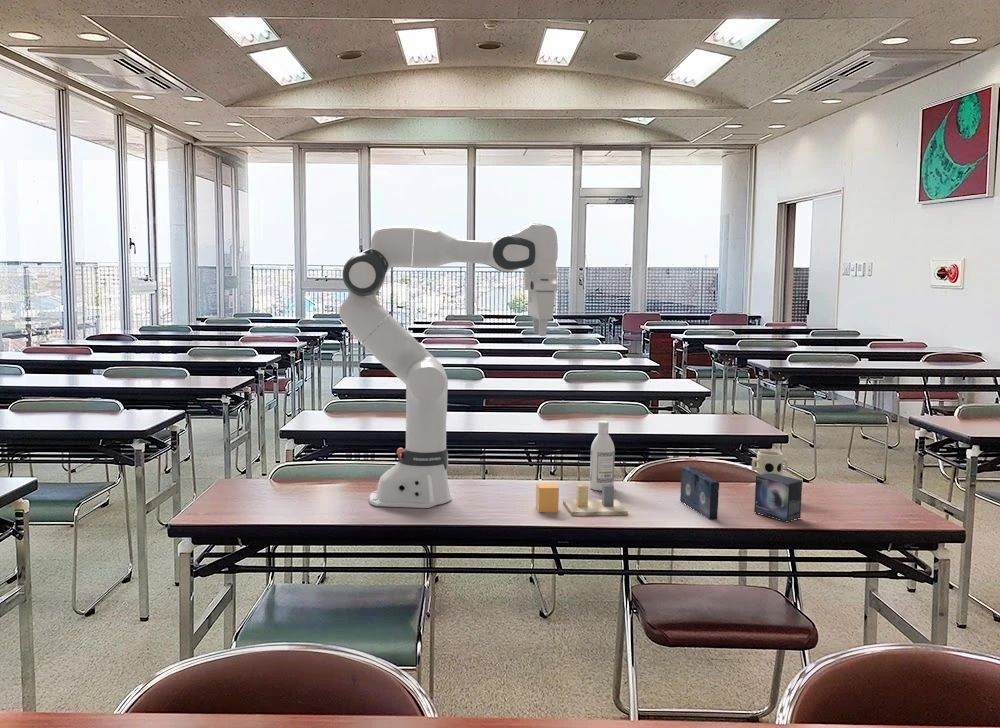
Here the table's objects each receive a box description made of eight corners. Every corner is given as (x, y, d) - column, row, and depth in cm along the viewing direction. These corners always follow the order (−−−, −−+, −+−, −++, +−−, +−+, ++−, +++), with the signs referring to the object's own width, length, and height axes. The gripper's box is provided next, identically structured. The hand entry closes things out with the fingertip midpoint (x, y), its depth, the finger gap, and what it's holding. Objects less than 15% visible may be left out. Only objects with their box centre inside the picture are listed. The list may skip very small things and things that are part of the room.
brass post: (578, 507, 226) (578, 486, 226) (576, 504, 229) (576, 484, 228) (587, 506, 226) (588, 486, 226) (585, 504, 229) (586, 484, 228)
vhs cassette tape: (718, 519, 221) (719, 482, 220) (707, 520, 220) (708, 482, 219) (689, 501, 238) (691, 466, 237) (679, 501, 238) (681, 466, 237)
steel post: (603, 506, 227) (604, 486, 226) (601, 504, 230) (602, 484, 229) (613, 506, 227) (614, 486, 227) (611, 503, 230) (611, 484, 229)
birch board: (571, 515, 221) (571, 511, 221) (563, 503, 233) (563, 499, 233) (627, 514, 223) (627, 511, 223) (616, 502, 235) (616, 499, 235)
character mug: (755, 500, 240) (758, 455, 238) (744, 494, 247) (746, 450, 245) (792, 500, 241) (794, 455, 240) (780, 493, 248) (782, 449, 247)
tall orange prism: (538, 512, 224) (539, 488, 223) (535, 507, 229) (536, 483, 228) (558, 512, 224) (558, 487, 224) (554, 507, 230) (555, 483, 229)
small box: (752, 513, 227) (754, 474, 226) (767, 509, 231) (769, 471, 230) (786, 523, 218) (788, 483, 217) (801, 519, 222) (803, 479, 221)
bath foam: (618, 489, 250) (620, 422, 248) (601, 492, 246) (604, 424, 244) (601, 484, 255) (603, 418, 253) (584, 487, 251) (586, 421, 249)
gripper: (524, 283, 242) (523, 331, 243) (535, 284, 221) (533, 337, 223) (545, 283, 242) (544, 332, 244) (558, 284, 222) (557, 337, 223)
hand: (539, 334), depth 233 cm, fingers open, 8 cm apart
